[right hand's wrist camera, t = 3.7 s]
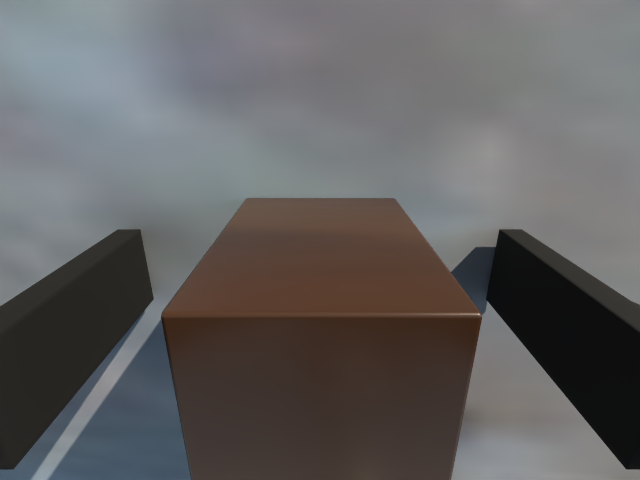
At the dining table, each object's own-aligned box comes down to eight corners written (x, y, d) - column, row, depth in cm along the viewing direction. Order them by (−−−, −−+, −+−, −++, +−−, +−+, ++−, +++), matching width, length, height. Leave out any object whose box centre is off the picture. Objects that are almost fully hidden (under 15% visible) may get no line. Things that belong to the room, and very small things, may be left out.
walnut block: (385, 324, 14) (443, 524, 7) (255, 324, 14) (197, 524, 7) (395, 198, 12) (484, 313, 6) (245, 197, 12) (157, 314, 6)
